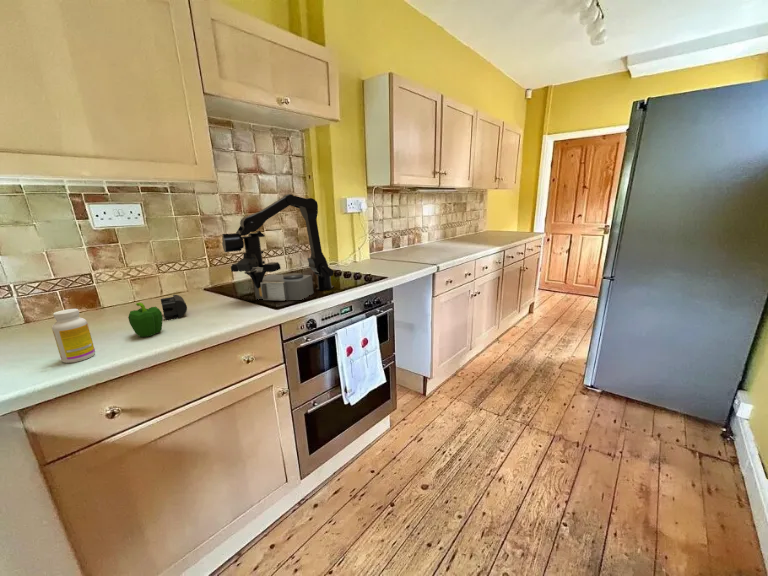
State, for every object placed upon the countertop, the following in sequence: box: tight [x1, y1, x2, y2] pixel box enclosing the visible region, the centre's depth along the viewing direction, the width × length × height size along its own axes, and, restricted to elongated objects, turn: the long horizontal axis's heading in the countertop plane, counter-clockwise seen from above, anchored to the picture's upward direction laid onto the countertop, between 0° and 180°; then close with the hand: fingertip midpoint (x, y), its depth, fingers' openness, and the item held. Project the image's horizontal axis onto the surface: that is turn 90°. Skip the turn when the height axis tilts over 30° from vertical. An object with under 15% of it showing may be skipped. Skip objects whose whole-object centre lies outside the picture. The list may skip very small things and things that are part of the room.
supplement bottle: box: [51, 308, 96, 364], centre depth 85 cm, size 7×7×13 cm
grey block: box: [253, 272, 315, 301], centre depth 138 cm, size 12×20×9 cm, turn 77°
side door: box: [260, 281, 288, 302], centre depth 131 cm, size 3×10×7 cm, turn 77°
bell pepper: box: [127, 302, 164, 338], centre depth 100 cm, size 8×8×10 cm
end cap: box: [160, 294, 188, 321], centre depth 118 cm, size 10×7×7 cm
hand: (258, 288), depth 132 cm, fingers closed
